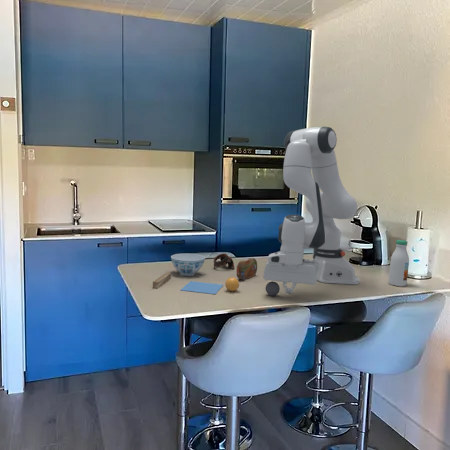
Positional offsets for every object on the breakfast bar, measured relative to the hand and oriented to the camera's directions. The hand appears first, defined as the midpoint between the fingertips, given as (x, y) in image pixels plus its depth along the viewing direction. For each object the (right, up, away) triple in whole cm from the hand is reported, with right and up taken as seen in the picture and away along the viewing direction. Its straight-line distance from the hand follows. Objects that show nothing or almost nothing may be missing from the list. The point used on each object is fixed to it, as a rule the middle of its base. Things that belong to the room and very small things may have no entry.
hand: (288, 293), depth 174 cm
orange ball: (-22, +3, +5) cm, 22 cm away
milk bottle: (+53, -1, +29) cm, 60 cm away
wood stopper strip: (-50, +2, +11) cm, 51 cm away
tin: (-15, +2, +27) cm, 31 cm away
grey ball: (-6, +2, +1) cm, 6 cm away
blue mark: (-34, +1, +7) cm, 34 cm away
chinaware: (-41, +4, +28) cm, 50 cm away
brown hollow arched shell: (-25, +5, +43) cm, 50 cm away
